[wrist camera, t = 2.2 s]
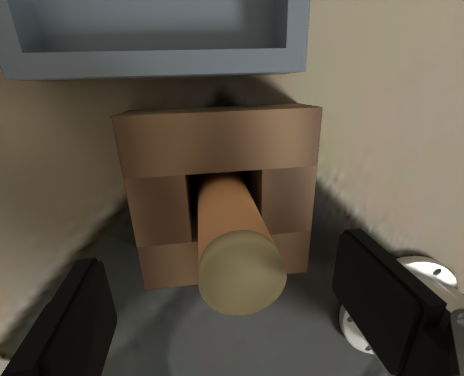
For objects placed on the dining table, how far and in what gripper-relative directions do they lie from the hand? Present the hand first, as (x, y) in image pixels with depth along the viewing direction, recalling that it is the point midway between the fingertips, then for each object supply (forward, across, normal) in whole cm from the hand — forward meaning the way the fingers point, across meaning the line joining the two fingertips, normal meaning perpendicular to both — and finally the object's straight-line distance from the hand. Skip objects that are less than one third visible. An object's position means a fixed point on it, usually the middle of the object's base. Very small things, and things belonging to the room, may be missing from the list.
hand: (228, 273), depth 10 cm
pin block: (+11, -1, +1) cm, 11 cm away
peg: (+11, -1, +1) cm, 11 cm away
